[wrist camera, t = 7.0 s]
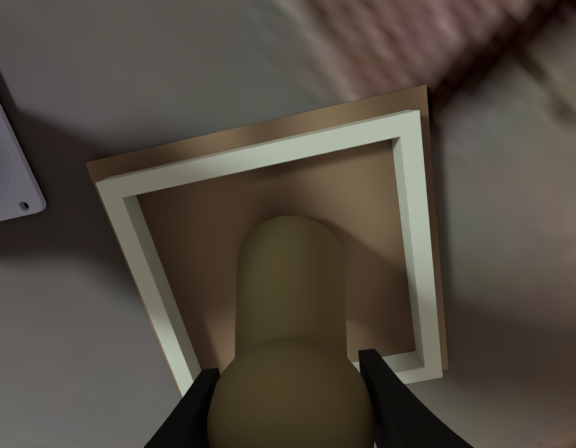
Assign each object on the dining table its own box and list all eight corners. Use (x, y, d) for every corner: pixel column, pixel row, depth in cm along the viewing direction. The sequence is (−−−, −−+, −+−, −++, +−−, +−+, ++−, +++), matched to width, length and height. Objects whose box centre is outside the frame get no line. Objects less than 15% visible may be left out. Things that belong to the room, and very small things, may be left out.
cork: (289, 192, 17) (290, 362, 7) (366, 264, 19) (450, 479, 9) (214, 265, 19) (133, 479, 9) (291, 324, 21) (292, 558, 11)
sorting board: (190, 411, 24) (188, 416, 24) (88, 161, 18) (84, 162, 18) (446, 365, 23) (448, 369, 23) (423, 85, 17) (426, 84, 17)
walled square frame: (198, 403, 23) (193, 422, 22) (109, 176, 18) (95, 182, 17) (432, 360, 23) (442, 377, 21) (408, 109, 17) (419, 110, 16)
